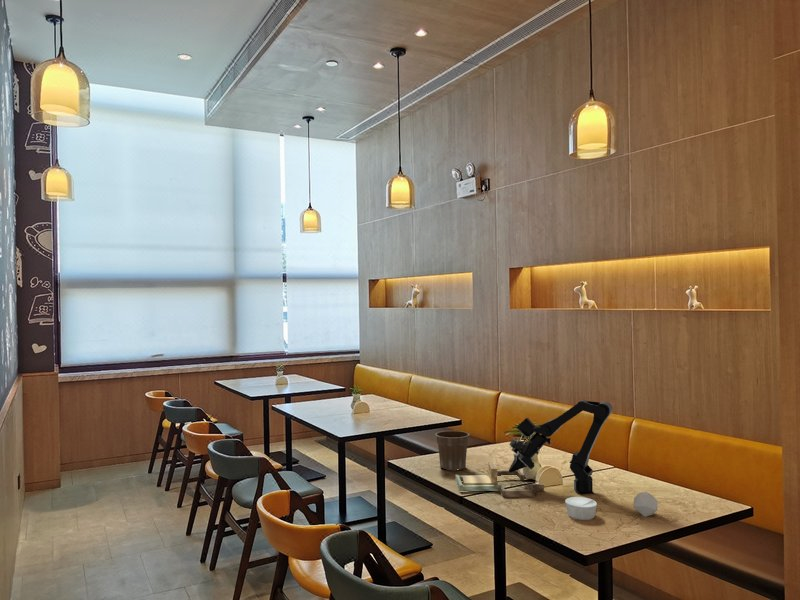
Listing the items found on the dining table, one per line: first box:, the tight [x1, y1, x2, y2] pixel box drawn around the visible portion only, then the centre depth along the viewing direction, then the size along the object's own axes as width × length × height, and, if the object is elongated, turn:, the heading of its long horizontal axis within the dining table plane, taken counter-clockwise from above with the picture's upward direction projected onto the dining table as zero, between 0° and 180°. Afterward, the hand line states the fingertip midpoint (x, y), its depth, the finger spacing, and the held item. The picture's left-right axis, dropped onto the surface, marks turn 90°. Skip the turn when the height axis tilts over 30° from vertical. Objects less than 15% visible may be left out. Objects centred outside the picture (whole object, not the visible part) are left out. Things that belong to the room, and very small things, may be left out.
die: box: [632, 491, 659, 518], centre depth 221 cm, size 8×9×10 cm
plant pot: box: [435, 430, 470, 471], centre depth 286 cm, size 16×16×16 cm
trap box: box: [455, 469, 545, 498], centre depth 257 cm, size 35×29×3 cm
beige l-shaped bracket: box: [461, 462, 499, 486], centre depth 257 cm, size 14×10×9 cm
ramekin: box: [564, 496, 598, 521], centre depth 220 cm, size 11×11×5 cm
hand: (509, 471), depth 256 cm, fingers closed
